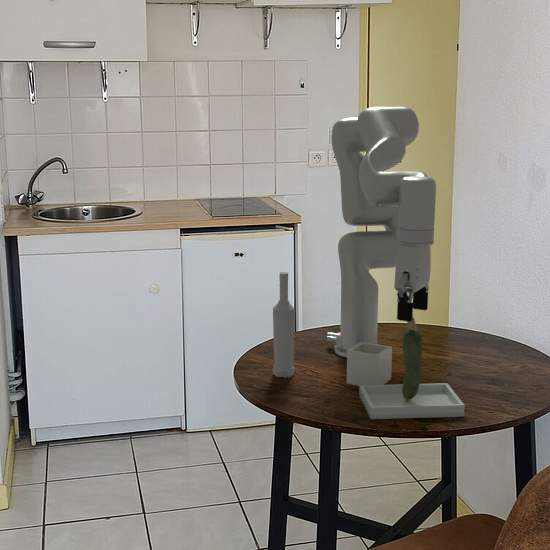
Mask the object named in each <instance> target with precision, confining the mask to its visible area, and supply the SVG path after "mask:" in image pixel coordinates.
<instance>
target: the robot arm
mask: <svg viewBox="0 0 550 550" xmlns="http://www.w3.org/2000/svg"><path fill="white" fill-rule="evenodd" d="M419 130H420V123H419V118H418V115H417V114H416V112H415V111H414V110H413V109H412V108H410V107H407V106H372V107H369V108H366V109H365V108H364V110H362V112H360V113H359V114H358V116H356V117H346V118H342V119H340V120H338V121H336V122H335V123H334V124H333V127H332V130H331V147H332V151H333V154H334V155H333V156H334V158H335V160H336V163H337V166H338V170H339V175H340V195H341V200H340V201H341V211H342V212H341V213H342V217H343V221H344V223H345V224H346V225H348V226H353V227H373V226H374V227H375V226H377V227H379V226H381V227H382V226H383V227H384V229H385V230H366V231H365V230H364V231H362V230H361V231H353V232H352V231H351V232H348V233H345V234H344V235H341V237H340V239H339V241H338V244H337V251H338V252H337V253H338V254H337V255H338V258H339V265H340V266H339V267H340V332H338V333H336V332H332V331H329V332H328V331H327V334H326V340H327V342H331V343H332V342H333V343H335V345H334V348H333V350H334V351H333V352H334V353H335V354H336V355H338V356H340V357H343V358H347V351H348V350H349V349H351V348H352V347H354V346H355V345H357V344H358V343H360V342H364V343H371V344H378V324H379V323H378V322H379V320H378V317H379V315H378V314H379V286H378V285H379V284H378V282H377V280H376V279H375V278H374V276H372V274H371V273H370V270H375V269H394V268H395V273H394V283H393V284H394V285H393V288H394V289H395V290H396V291H397V293H396V296H397V299H396V300H397V301H396V302H397V307H396V309H397V310H396V312H397V313H396V318H397V320H398V321H403V322H407V321H409V322H411V321H412V318H414V315H413V314H414V313H413V312H414V311H413V310H420V311H427V310H428V306H429V304H428V303H429V290H430V289H429V283H430V280H431V279H430V278H431V264H432V263H431V262H432V261H431V257H432V255H431V246H433V245H434V241H435V216H436V201H437V200H436V198H437V195H436V194H437V184H436V183H437V182H436V181H435V180H434V178H432V177H429V176H428V174H427V173H425V172H422V171H419V170H417V171H415V170H414V171H411V170H409V171H403V170H402V171H400V170H399V171H396V170H394V171H389V170H390V169H391V168H394V167H396V166H397V165H398V164H400V162H402V160H403V159H404V157H405V155H406V150H407V148H406V147H407V146H409V145H410V144H412V143H413V142H414V141H415V140H416V139H417V137H418V136H419V135H418V134H419ZM362 152H363V153H365V152H366V153H365V155H363V154H362Z"/></svg>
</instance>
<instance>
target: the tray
mask: <svg viewBox="0 0 550 550" xmlns="http://www.w3.org/2000/svg"><path fill="white" fill-rule="evenodd" d="M358 387H359V389H358V391H359V394H358V396H359V398H360V401H361V403H362V405H363V406H364V409H365V411H366V412H367V415H368V417H369V419H370V420H383V419H384V420H385V419H389V420H390V419H414V418H415V419H418V418H419V419H420V418H422V419H423V418H457V417H465V409H466V408H465V407H466V406H465V403H464V402H463V401H462V400H461V399H460V397H459V396H458V395H457V394H456V393H455V392H456V391H454V390H453V388H452V387H451V386H450V384H449V383H445V382H444V383H443V382H442V383H440V382H439V383H436V382H435V383H420V384H419V388H418V391H417V394H416V395H415V397H413V398H412V399H411V400H410V401H406V400H405V398H403V392H402V387H403V383H401V384H399V383H398V384H384V385H360V386H358Z"/></svg>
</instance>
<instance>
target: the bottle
mask: <svg viewBox="0 0 550 550" xmlns="http://www.w3.org/2000/svg"><path fill="white" fill-rule="evenodd" d="M295 309H296V308H295V307H294V306H293V305H292V304H291V303H290V300H289V272H286V271H282V272H279V300H278V302H277V304H275V306H273V308H272V322H273V323H272V328H273V329H272V331H273V367H272V373H273V375H275V376H274V377H276V376H277V378H279V377H284V378H285V379H286V378H287V377H288V378H291V377H293V376H294V374H295V367H294V358H295V357H294V356H295V354H294V353H295V351H294V348H295V318H296V317H295V313H296V312H295V311H296V310H295ZM284 378H283V379H284Z"/></svg>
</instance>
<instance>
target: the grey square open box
mask: <svg viewBox="0 0 550 550" xmlns="http://www.w3.org/2000/svg"><path fill="white" fill-rule="evenodd" d="M392 362H393V346H390V345H383V344H378V343H377V344H371V343H364V342H360V343H358V344H357V345H355V346H354V347H352V348H351V349H349V350H348V351H347V357H346V385H353V386H358V387H359V386H360V385H387V383H388V382H390V380H392Z"/></svg>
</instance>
